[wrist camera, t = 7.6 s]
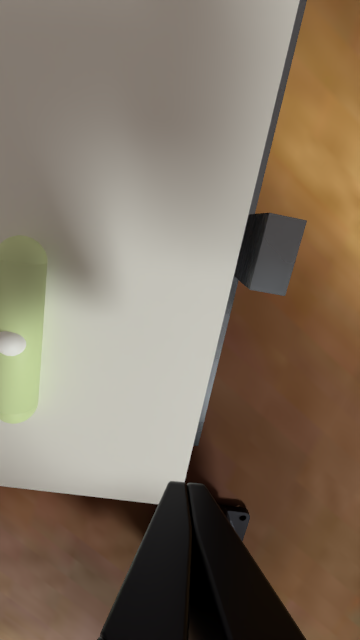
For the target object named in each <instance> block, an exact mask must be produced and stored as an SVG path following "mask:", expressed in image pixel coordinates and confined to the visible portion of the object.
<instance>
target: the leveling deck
mask: <svg viewBox="0 0 360 640" xmlns="http://www.w3.org/2000/svg"><path fill="white" fill-rule="evenodd" d="M299 1H300V0H0V486H5V487H14V488H23V489H31V490H40V491H48V492H57V493H65V494H74V495H83V496H91V497H100V498H108V499H117V500H125V501H134V502H142V503H151V504H159V502H160V500H161V498H162V495H163V493H164V491H165V489H166V486H167V484H168V483H169V482H170V481H178V482H185V478H186V474H187V469H188V465H189V461H190V457H191V453H192V449H193V444H194V440H195V436H196V432H197V428H198V423H199V419H200V415H201V411H202V407H203V403H204V398H205V394H206V390H207V386H208V382H209V377H210V373H211V369H212V365H213V361H214V357H215V352H216V348H217V344H218V340H219V336H220V332H221V327H222V323H223V319H224V315H225V311H226V306H227V302H228V298H229V294H230V290H231V286H232V281H233V277H234V273H235V269H236V265H237V260H238V256H239V252H240V248H241V244H242V240H243V235H244V231H245V227H246V223H247V219H248V214H249V210H250V206H251V202H252V198H253V194H254V189H255V185H256V181H257V177H258V173H259V169H260V164H261V160H262V156H263V152H264V148H265V143H266V139H267V135H268V131H269V127H270V123H271V118H272V114H273V110H274V106H275V102H276V97H277V93H278V89H279V85H280V81H281V77H282V72H283V68H284V64H285V60H286V56H287V52H288V47H289V43H290V39H291V35H292V31H293V26H294V22H295V18H296V14H297V10H298V6H299Z"/></svg>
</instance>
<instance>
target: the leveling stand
mask: <svg viewBox="0 0 360 640" xmlns="http://www.w3.org/2000/svg"><path fill="white" fill-rule="evenodd" d="M306 1H307V0H300V1H299V6H298V10H297V14H296V18H295V22H294V26H293V31H292V35H291V39H290V43H289V47H288V52H287V56H286V60H285V64H284V68H283V72H282V77H281V81H280V85H279V89H278V93H277V97H276V102H275V106H274V110H273V114H272V118H271V123H270V127H269V131H268V135H267V139H266V143H265V148H264V152H263V156H262V160H261V164H260V169H259V173H258V177H257V181H256V185H255V189H254V194H253V198H252V202H251V206H250V210H249V214H248V219H247V223H246V227H245V231H244V235H243V240H242V244H241V248H240V252H239V256H238V260H237V265H236V269H235V273H234V277H233V281H232V286H231V290H230V294H229V298H228V302H227V306H226V311H225V315H224V319H223V323H222V327H221V332H220V336H219V340H218V344H217V348H216V352H215V357H214V361H213V365H212V369H211V373H210V377H209V382H208V386H207V390H206V394H205V398H204V403H203V407H202V411H201V415H200V419H199V423H198V428H197V432H196V436H195V440H194V444H193V445H194V446H198V444H199V439H200V435H201V431H202V427H203V423H204V419H205V415H206V411H207V407H208V403H209V399H210V394H211V390H212V386H213V382H214V378H215V374H216V370H217V366H218V362H219V358H220V354H221V349H222V345H223V341H224V337H225V333H226V329H227V325H228V321H229V317H230V313H231V308H232V304H233V300H234V296H235V292H236V288H237V284H238V280H239V281H240V282H241V283H243V284H244V285H245V286H246V287H247V288H249V289H250V290H255V291H261V292H266V293H272V294H277V295H283V296H285V294H286V291H287V287H288V284H289V280H290V277H291V273H292V270H293V267H294V263H295V260H296V256H297V253H298V249H299V246H300V243H301V239H302V236H303V232H304V229H305V225H306V222H307V221H306V220H302V219H297V218H292V217H287V216H282V215H277V214H272V213H261V214H255V210H256V206H257V202H258V198H259V194H260V190H261V186H262V182H263V177H264V173H265V169H266V165H267V161H268V157H269V153H270V149H271V145H272V141H273V137H274V132H275V128H276V124H277V120H278V116H279V112H280V108H281V104H282V100H283V96H284V92H285V87H286V83H287V79H288V75H289V71H290V67H291V63H292V59H293V55H294V51H295V46H296V42H297V38H298V34H299V30H300V26H301V22H302V18H303V14H304V10H305V6H306Z"/></svg>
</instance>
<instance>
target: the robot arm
mask: <svg viewBox="0 0 360 640" xmlns="http://www.w3.org/2000/svg"><path fill="white" fill-rule="evenodd" d="M242 515H243V516H242ZM249 519H250V516H249V512H248V510H247V509H246V508H242V507H233V506H225V505H218V504H217V502H216V501H215V499H214V498H213V496H212V495H211V493H210V492H209V490H208V489H207V487H206V486H205V485H204V484H199V483H188V484H187V485H186V483H185V482H178V481H170V482H169V483H168V484H167V486H166V489H165V491H164V493H163V495H162V498H161V500H160V502H159V504H158V506H157V509H156V511H155V513H154V515H153V518H152V520H151V522H150V524H149V526H148V529H147V531H146V533H145V535H144V538H143V540H142V542H141V544H140V546H139V549H138V551H137V553H136V555H135V558H134V560H133V562H132V564H131V566H130V569H129V571H128V573H127V575H126V578H125V580H124V582H123V584H122V586H121V589H120V591H119V593H118V595H117V598H116V600H115V602H114V604H113V606H112V609H111V611H110V613H109V615H108V618H107V620H106V622H105V624H104V626H103V629H102V631H101V633H100V637H99V638H98V639H97V640H306V638H305V637H304V635H303V634H302V632H301V631H300V629H299V628H298V626H297V624H296V623H295V621H294V620H293V618H292V617H291V615H290V614H289V612H288V611H287V609H286V608H285V606H284V605H283V603H282V602H281V600H280V599H279V597H278V595H277V594H276V592H275V591H274V589H273V588H272V586H271V585H270V583H269V582H268V580H267V579H266V577H265V576H264V574H263V573H262V571H261V570H260V568H259V566H258V565H257V563H256V562H255V560H254V559H253V557H252V556H251V554H250V553H249V551H248V550H247V548H246V547H245V545H244V544H243V542H242V541H243V538H244V535H245V532H246V529H247V526H248V522H249Z"/></svg>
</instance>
